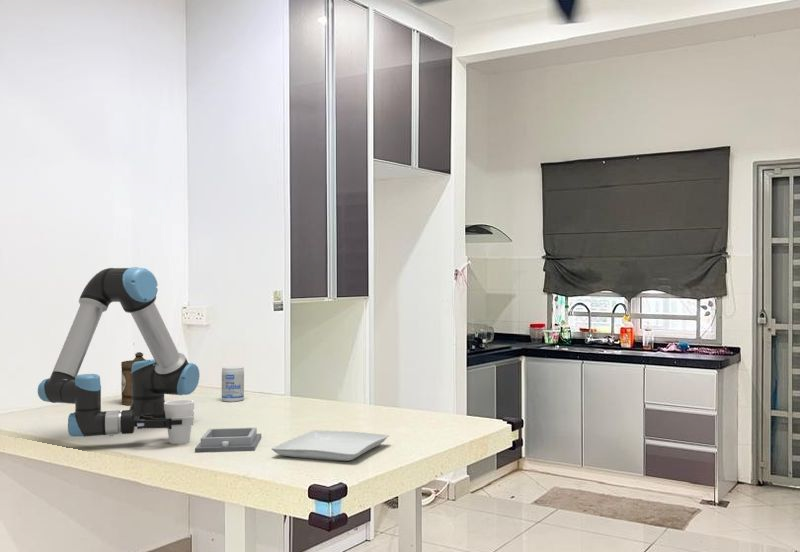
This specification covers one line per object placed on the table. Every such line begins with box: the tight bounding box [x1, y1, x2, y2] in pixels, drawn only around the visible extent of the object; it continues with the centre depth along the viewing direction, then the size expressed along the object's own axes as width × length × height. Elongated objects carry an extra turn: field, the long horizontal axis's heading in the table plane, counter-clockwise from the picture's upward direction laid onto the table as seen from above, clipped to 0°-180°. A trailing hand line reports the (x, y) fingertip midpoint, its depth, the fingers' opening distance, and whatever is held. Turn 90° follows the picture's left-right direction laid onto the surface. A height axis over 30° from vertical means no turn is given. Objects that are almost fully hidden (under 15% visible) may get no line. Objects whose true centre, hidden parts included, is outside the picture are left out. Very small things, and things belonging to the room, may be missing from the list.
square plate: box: [271, 429, 390, 462], centre depth 231 cm, size 27×27×4 cm
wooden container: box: [120, 351, 146, 406], centre depth 329 cm, size 15×15×22 cm
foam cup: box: [164, 399, 195, 445], centre depth 247 cm, size 10×9×13 cm
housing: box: [194, 426, 262, 453], centre depth 243 cm, size 20×18×4 cm
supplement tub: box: [221, 365, 245, 403], centre depth 332 cm, size 10×10×15 cm
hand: (193, 418), depth 248 cm, fingers closed on foam cup, 9 cm apart
